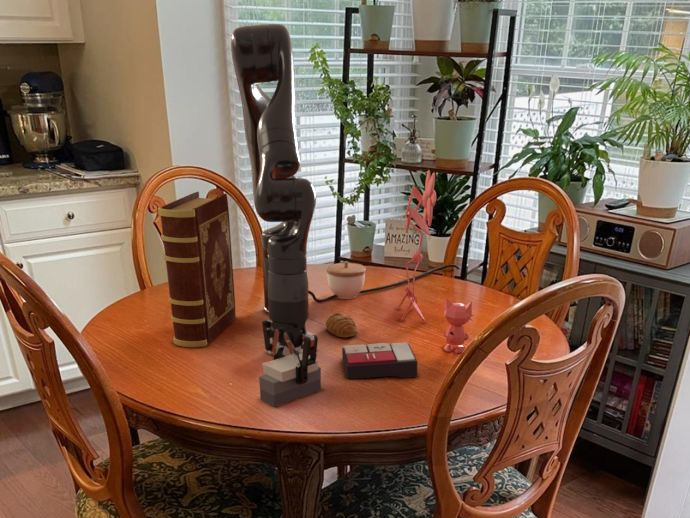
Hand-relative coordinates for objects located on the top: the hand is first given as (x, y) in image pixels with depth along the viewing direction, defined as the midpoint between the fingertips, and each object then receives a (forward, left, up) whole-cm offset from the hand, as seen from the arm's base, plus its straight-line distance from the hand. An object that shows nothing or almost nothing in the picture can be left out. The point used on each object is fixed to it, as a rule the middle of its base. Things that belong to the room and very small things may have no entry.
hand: (290, 378), depth 140 cm
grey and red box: (-23, +2, -4) cm, 23 cm away
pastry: (-33, -20, -4) cm, 39 cm away
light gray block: (-15, -18, -4) cm, 24 cm away
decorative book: (-8, -42, -4) cm, 43 cm away
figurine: (-58, -15, -4) cm, 60 cm away
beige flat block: (0, 0, +1) cm, 1 cm away
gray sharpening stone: (0, 0, -4) cm, 4 cm away
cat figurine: (-44, +6, -4) cm, 45 cm away
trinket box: (-54, -41, -4) cm, 68 cm away
